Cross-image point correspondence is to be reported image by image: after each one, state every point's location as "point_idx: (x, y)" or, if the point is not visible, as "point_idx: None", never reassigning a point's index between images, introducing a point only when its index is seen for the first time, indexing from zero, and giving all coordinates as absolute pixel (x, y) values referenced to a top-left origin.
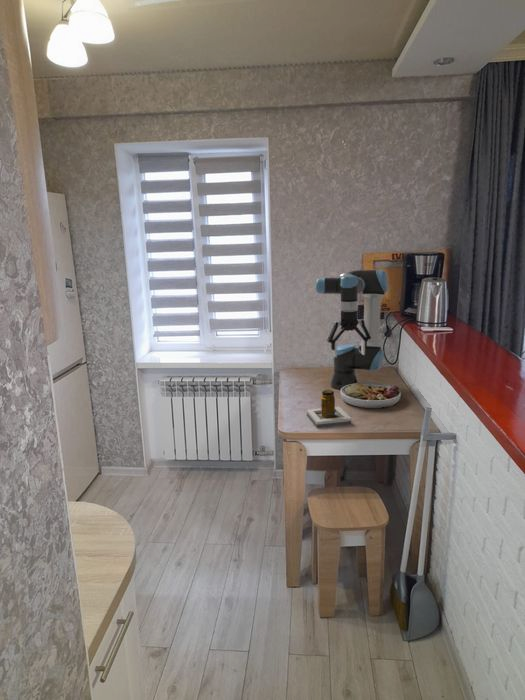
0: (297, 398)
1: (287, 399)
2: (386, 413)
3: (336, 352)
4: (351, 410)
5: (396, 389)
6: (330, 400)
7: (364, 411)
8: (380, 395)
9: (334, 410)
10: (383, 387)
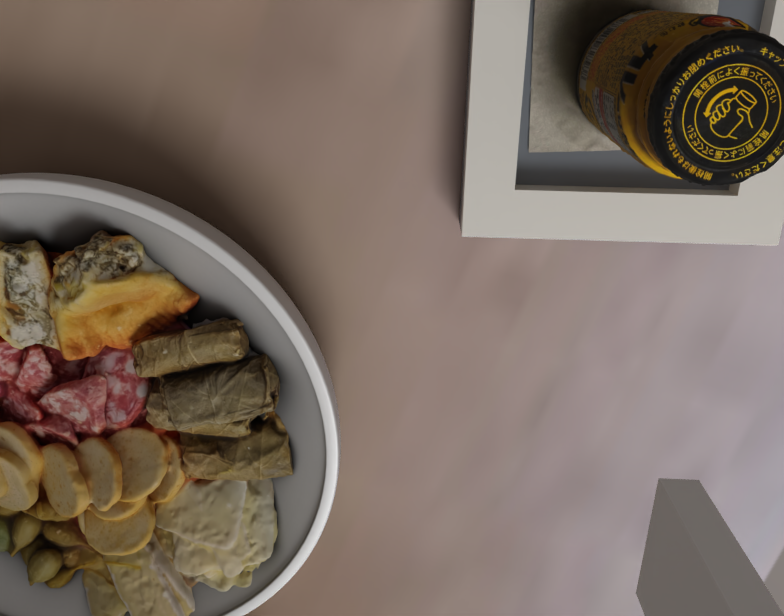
0: None
1: None
2: (64, 58)
3: (709, 565)
4: (341, 222)
5: None
6: (708, 15)
7: (240, 165)
8: (11, 313)
9: (605, 41)
10: None
